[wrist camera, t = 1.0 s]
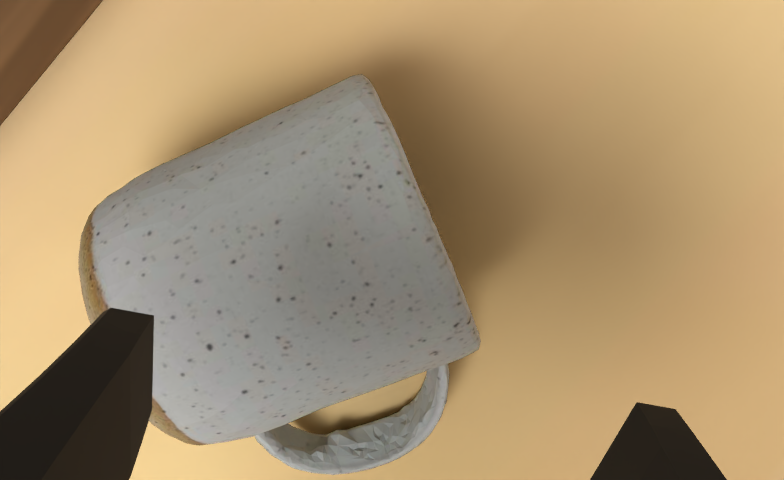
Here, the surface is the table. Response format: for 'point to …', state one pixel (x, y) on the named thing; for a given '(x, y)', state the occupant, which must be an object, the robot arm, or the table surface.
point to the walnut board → (34, 41)
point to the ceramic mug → (286, 282)
